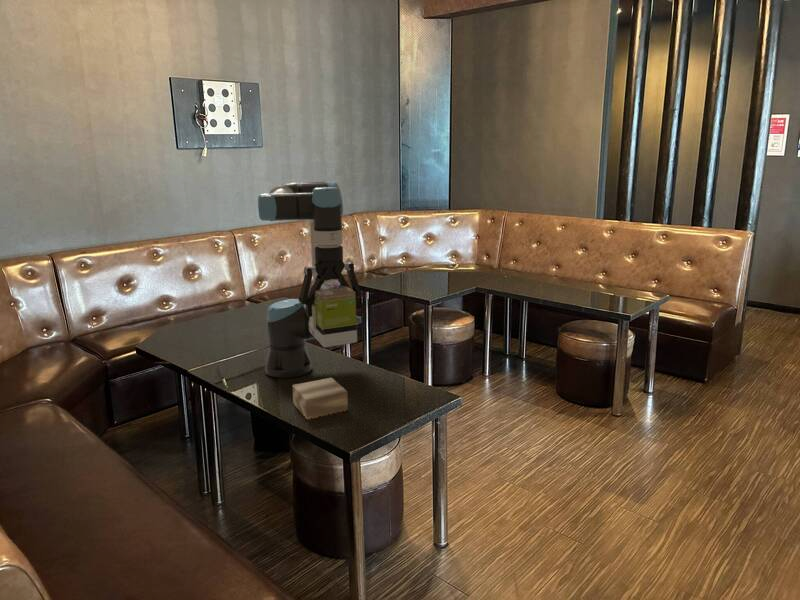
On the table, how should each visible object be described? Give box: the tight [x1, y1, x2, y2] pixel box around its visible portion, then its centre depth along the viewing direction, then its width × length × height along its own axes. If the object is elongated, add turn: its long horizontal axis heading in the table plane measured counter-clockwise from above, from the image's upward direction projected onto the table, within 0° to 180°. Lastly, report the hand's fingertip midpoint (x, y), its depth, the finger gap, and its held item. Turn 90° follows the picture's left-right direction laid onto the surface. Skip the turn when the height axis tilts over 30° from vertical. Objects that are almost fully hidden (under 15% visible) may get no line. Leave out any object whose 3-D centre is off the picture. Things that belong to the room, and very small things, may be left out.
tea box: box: [308, 280, 358, 348], centre depth 167 cm, size 15×10×15 cm
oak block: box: [292, 377, 349, 420], centre depth 170 cm, size 12×12×6 cm
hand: (331, 324), depth 167 cm, fingers closed on tea box, 10 cm apart
